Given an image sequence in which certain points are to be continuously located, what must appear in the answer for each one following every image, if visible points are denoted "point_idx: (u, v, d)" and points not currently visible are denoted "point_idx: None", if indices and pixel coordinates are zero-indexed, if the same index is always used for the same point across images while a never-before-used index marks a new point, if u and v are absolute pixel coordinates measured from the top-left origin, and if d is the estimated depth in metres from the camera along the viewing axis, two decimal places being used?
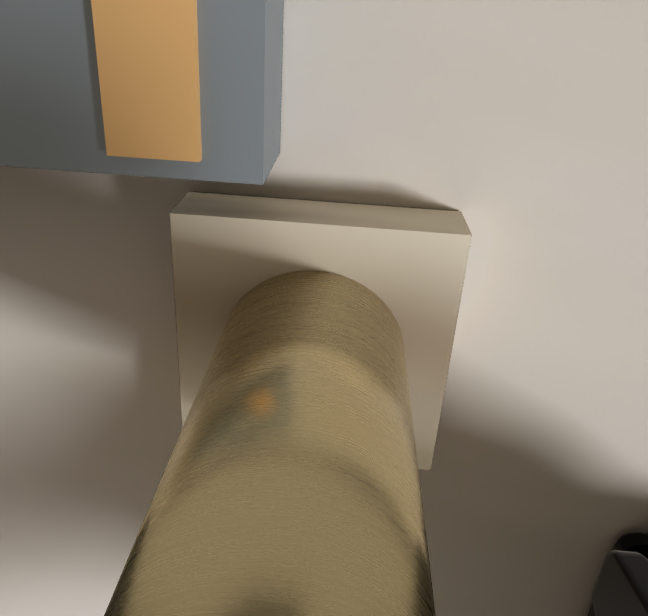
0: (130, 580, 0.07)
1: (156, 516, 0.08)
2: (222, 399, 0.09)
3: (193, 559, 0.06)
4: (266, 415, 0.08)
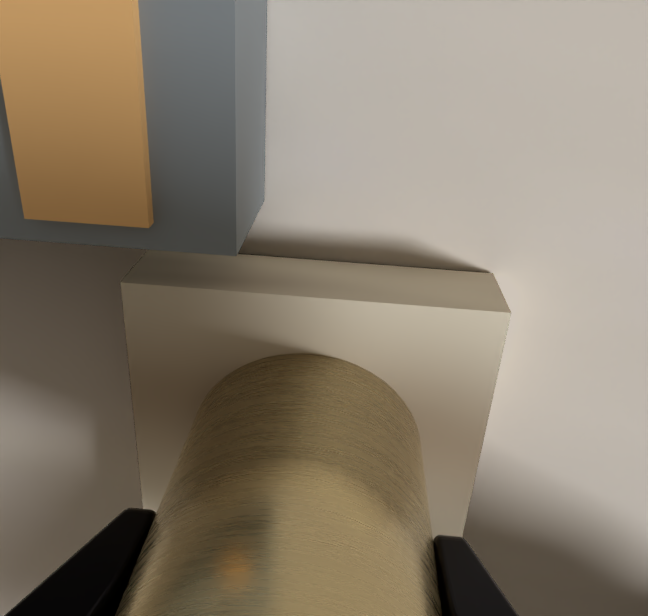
0: None
1: None
2: (168, 586, 0.06)
3: None
4: None
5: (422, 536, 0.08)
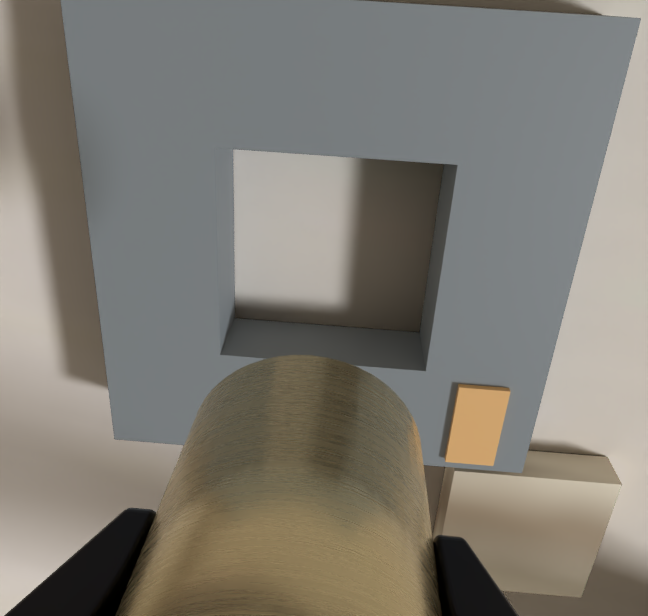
0: None
1: None
2: (168, 590, 0.06)
3: None
4: None
5: (422, 539, 0.08)
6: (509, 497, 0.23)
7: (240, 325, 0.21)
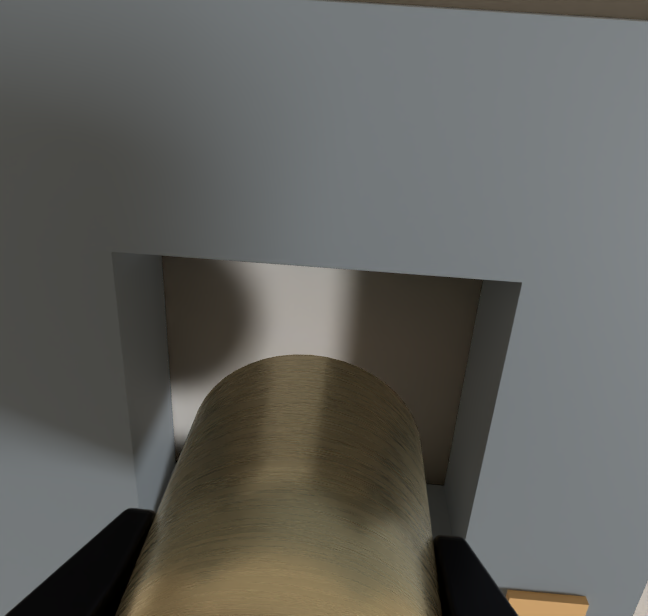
0: None
1: None
2: (168, 589, 0.06)
3: None
4: None
5: (422, 539, 0.08)
6: None
7: None
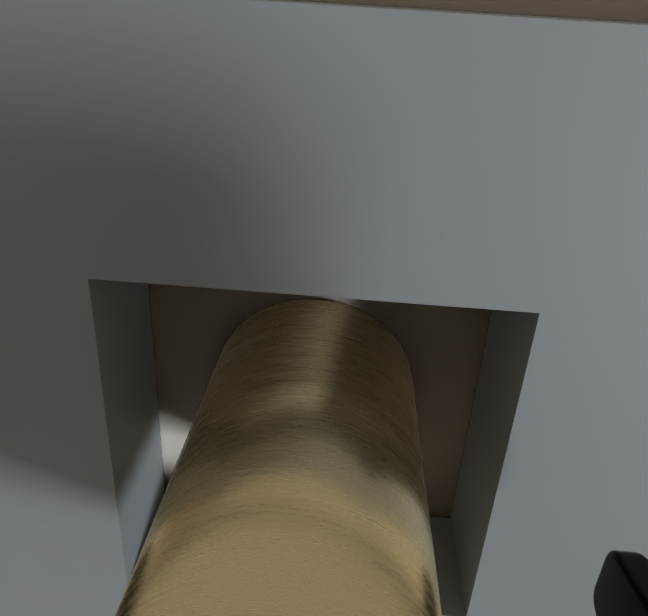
0: None
1: (133, 603, 0.07)
2: (212, 456, 0.08)
3: None
4: (261, 479, 0.07)
5: (411, 436, 0.10)
6: None
7: None
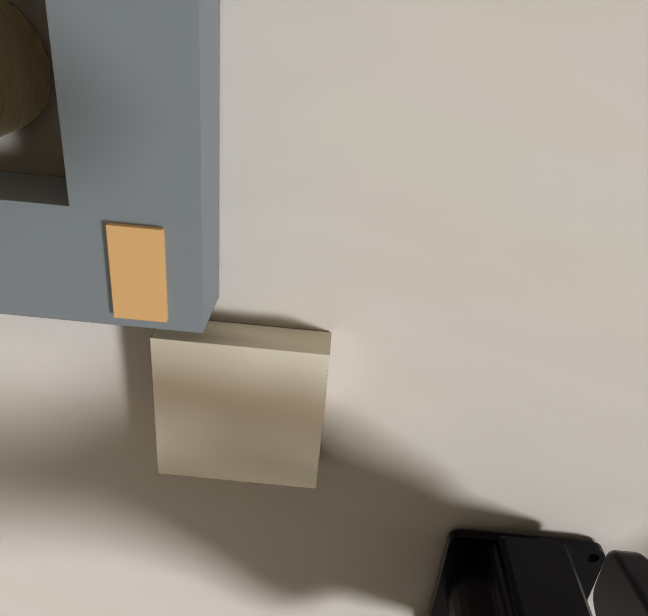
0: None
1: None
2: None
3: None
4: None
5: None
6: (215, 370, 0.21)
7: None
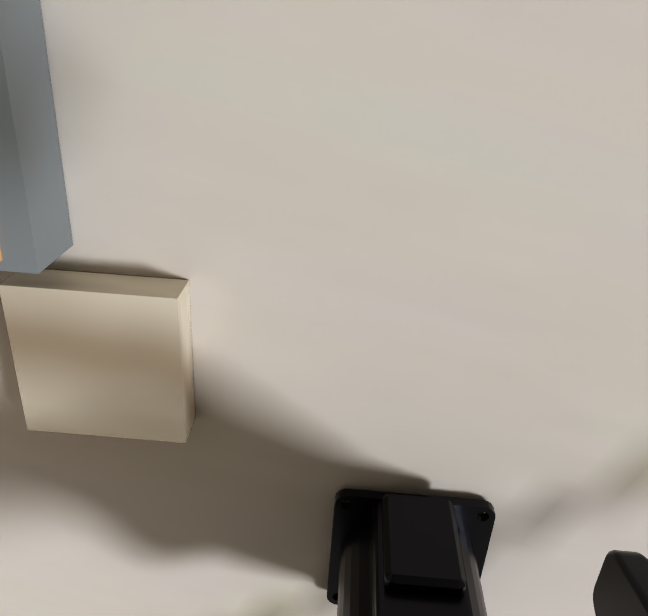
0: None
1: None
2: None
3: None
4: None
5: None
6: (66, 317, 0.21)
7: None
